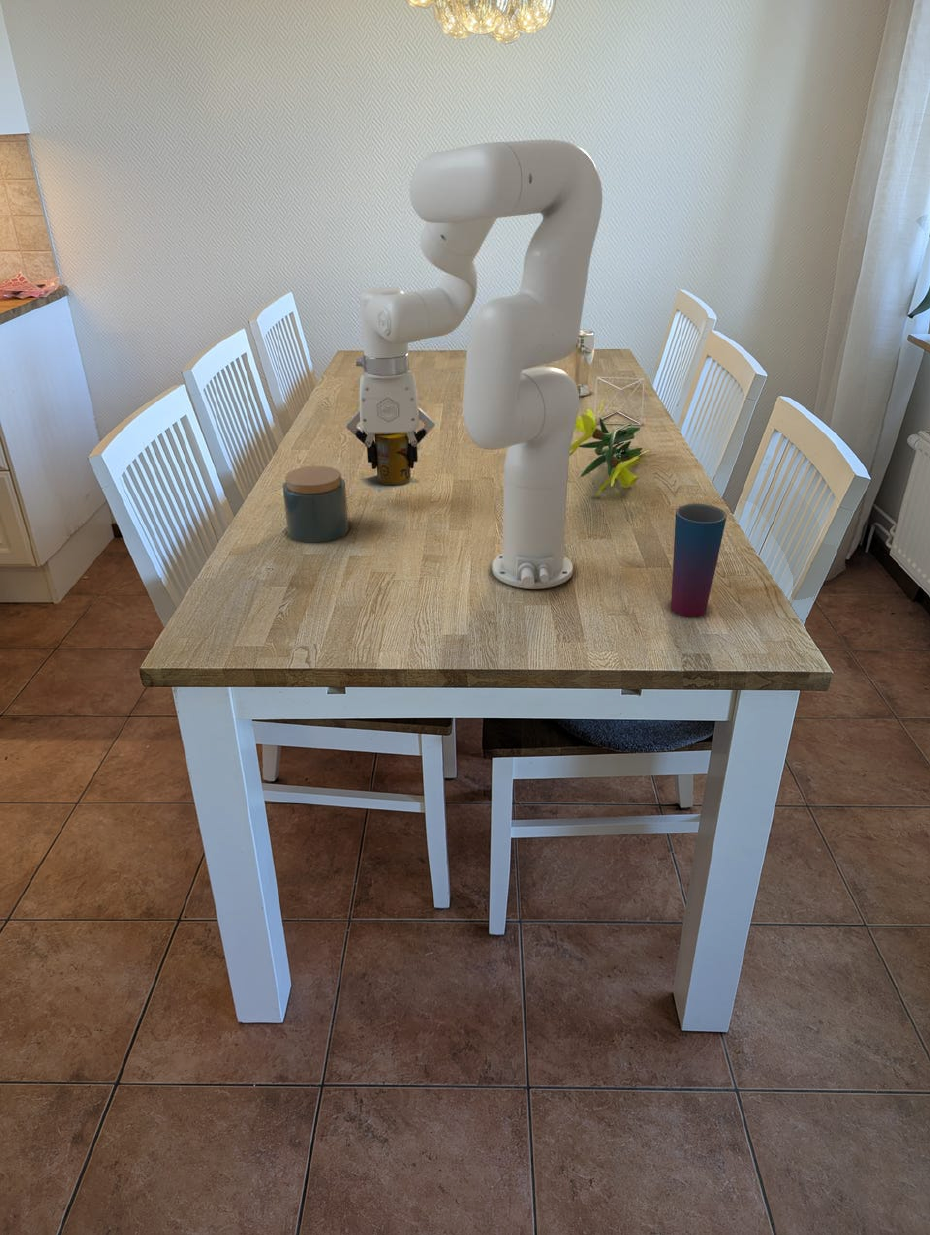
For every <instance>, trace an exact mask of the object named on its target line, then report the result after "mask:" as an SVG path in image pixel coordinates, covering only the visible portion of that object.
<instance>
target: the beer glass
mask: <svg viewBox="0 0 930 1235" xmlns="http://www.w3.org/2000/svg"><path fill="white" fill-rule="evenodd" d="M594 356H595V331H594V330H591V329H584V328H580V331H579V336H578V340H577V344H576V346H575V349H574V350H573V351H572V353H571V354H570V355H569V356H567V357H565V366H566V373H567V374H568V375H569V376H570V377H571V378H572V379H573V381H574V383H575V384H576V387H577V390H578V394H579V397H587V396H589V395H590V392H591V391H590V382H589V381H590V373H591V369H592V365H593V360H594Z"/></svg>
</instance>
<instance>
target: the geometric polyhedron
mask: <svg viewBox="0 0 930 1235" xmlns="http://www.w3.org/2000/svg"><path fill="white" fill-rule="evenodd" d="M604 379H619V380H620V379H623V380H624V379H625V380H637V381H634V382H633V383H630V384H627V385H626V386H623V387H619V386H617V385H615V384H613V383H610V382H609V381H606V380H604ZM645 380H646V379H645V378H644V377H617V376H616V377H615V376H597V377H596V378H595V388H597V387H598V383H599V385H600V386H601V388H602V390H603V392H604V393H605V395H606V397H607V399H608V400H609V402H608V404H607V405H606V406H605V408H604V409H603V410H601V412H600V413H599V416H598V420H597V425H598V424H599V425H600V420H599V418H601V415H602V414H603V413H604V411H606V409H607V408H608V407H609V406H610V404H611V405H612V406H613V408H614V410H615V411H614V412H612V413H610V414H608V415H605V416H604V417H602V418H601V420H602V421H603V420H604V419H606V418H609V417H610V416H612V415H614V414H617V413H618V414H620V415H621V416H624V417H625V418H627V419H629V420H631V421H633V422H635V423H631V424H632V425H631V426H642V425H643V414H644V398H645ZM601 382H604V383H606V384H608V385H609V386H612V387H614V388H616V389H618V391H617V392H616V393H615V395H614V396H613V398H612V399H611V398H610V396H609V394H608V393H607V391H606V389H605V388H604V385H603V384H602V383H601ZM637 383H639V384H638V385H637V386H636V387H635V389H634V390H633V391H632V392H631V393H630V394H629V396H628V397H627V396H626V394H625V392H624V389H626V388H628V387H631V386H633V385H635V384H637ZM642 383H643V384H642ZM641 384H642V385H643V386H642V400H641V401H642V402H641V419H640V418H639V417H638V415H637V413H636V412H635V410H634V408H633V406H632V405H631V403H630V401H629V399H630V398H631V396H632V395H633V394H634V393H635V392H636V391H637V389H638V388H639V387H640V385H641ZM620 392H621V393H622V395H623V396H624V398H625V401H624V402H623V403H622V404H621V406H620V407H619V408H618V409H617V408H616V406H615V405H614V403H613V401H614V400H615V398H616V397H617V395H618V394H619V393H620ZM596 400H597V389H595V392H594V405H593V406H594V407H593V408H594V409H593V410H594V411H593V418H594V420H595V421H596V419H595V417H596V404H597V403H596ZM626 402H627V404H628V405H629V407H630V409H631V410H632V412H633V413H634V416H635V417H636V419H637V420H638V421H637V420H636V419H633V418H632V417H629V416H627V415H625V414H624V413H622V412H621V411H620V410H621V408H622V407H623V406H624V405H625V404H626ZM603 423H604V425H626V424H627V422H625V423H623V422H622V423H621V422H603Z"/></svg>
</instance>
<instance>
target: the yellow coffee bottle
mask: <svg viewBox="0 0 930 1235" xmlns="http://www.w3.org/2000/svg"><path fill="white" fill-rule="evenodd" d="M374 442H375V450H376V464H377V466H376V475H374V476H373V475H372V476H369V477H362V478H359V481H361V482H362V483H363V484H365V485H367V486H368V487H370V488H371V489H374V490H375V491H377V492H383V491H387V490H391V489H396V488H400V487H401V488H402V487H405V486H409V485H413V484H417V483H420V482H421V480H419V479H416V478H414V477H412V474H411V468H409V451H408V447H409V443H410V441H409V439H408V437H407V435H406V433H386V434H375V436H374Z"/></svg>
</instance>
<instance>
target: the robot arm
mask: <svg viewBox="0 0 930 1235" xmlns="http://www.w3.org/2000/svg"><path fill="white" fill-rule="evenodd" d="M408 190H409V191H408V192H409V199H410V203H411V206H412V208H413V211H414V212H415V214H416V215H417V216H418V217H419V218H420V219H421V220H423V221H425V222H426V223H425V225H424V227H423V229H422V230H421V234H420V236H419V247H420V249H421V252H422V253H423V255H424V257H425V259H427V261H428V262H429V263H430V264H432V265H433V267H435V268H436V269H438V270H440V271H441V272H444V275H443V277H442V279H441V281H440V282H439V283H438V285H437V286H436V287H433V288H424V289H420V290H414V291H409V292H408V291H407V292H404V291H403V289H401V288H399V287H395V286H376V287H375V286H374V287H371V288H367V289H365V290H363V291H362V293H361V295H360V297H359V298H360V299H359V301H360V302H359V303H360V318H361V331H362V339H363V340H362V343H363V345H362V346H363V356H362V357H360V358H355V365H356V367H360V368H362V369H363V370H364V371H363V372H362V373H361V374H360V379H359V380H360V381H359V410H358V411H357V412H356V413H355V414H354V415H353V416H352V417H351V418H350V420H348V422H347V424H346V429H347V430H348V431H349V432H350V433H352V434H353V435H354V436H355V437H356V438H357V439H358V440H359V441H360V442H361V443H363V444H364V447H365V448H366V454H367V463H368V464H370V465H371V469H372V470H375V469H377V464H376V450H375V434H386V433H406V435H407V437H408V439H409V447H408V451H409V468H410V469H414V467H415V463H418V460H419V459H418V458H419V457H418V455H419V454H418V445H419V444H420V442H422V440H423V439H424V438H425V437H426V436H427V434H429V433H430V432H431V431H432V429H434V427H435V426H436V422H435V420H434V419H432V418H431V417H430V416H429V415H428V414H427V413H426V412H425V411H424V410H423V409H422V408H421V407H420V403H419V395H418V387H417V382H416V378H415V374H414V370H412V369H410V353H409V343H415V342H419V341H423V340H428V339H432V338H438V337H444V336H448V335H449V334H452V333H453V332H454V331H455V330H457V329H458V328H459V326H460V325H461V324H462V322H463V321H464V320H465V318H466V316H467V315H468V313H469V312H470V310H471V308H472V306H473V305H474V303H475V300H476V296H477V291H478V273H477V269H476V265H475V262H474V261H475V259H476V257H477V255H478V253H479V251H480V250H481V248H482V246H483V244H484V242H485V241H486V238H487V237H488V236H489V234H490V231H491V230H492V228H493V226H494V224H495V223H496V221H497V219H500V218H509V217H510V218H511V217H519V216H527V215H536V214H540V215H541V217H542V220H541V222H540V224H539V225H538V226H537V228H536V229H535V231H534V233H533V235H532V237H531V239H530V241H529V243H528V245H527V249H526V252H525V255H524V261H523V272H522V278H521V284H520V287H519V290H518V292H516V294H511V295H507V296H501V297H496V298H494V299H491V300H489V301H487V302H485V303H484V304H483V305H482V306H481V307H479V309H478V310H477V311H476V313H475V315H474V316H473V318H472V320H471V323H470V326H469V329H468V334H467V343H466V354H465V369H464V378H463V379H464V382H463V393H462V418H463V424H464V428H465V430H466V433H467V435H468V437H469V439H470V440H471V441H472V442H473V443H474V444H475V445H476V446H477V447H479V448H481V449H483V450H489V451H496V450H501V449H505V448H507V450H506V454H505V458H504V464H503V492H502V493H503V495H502V496H503V499H502V501H503V502H502V503H503V504H502V553H500V554H499V555H497V556H496V557H495V558H494V559H493V561H492V563H491V564H492V566H491V569H492V570H491V571H492V574H493V576H494V577H495V578H496V579H498V580H499V581H500V582H502V583H503V584H505V585H508V586H511V587H515V588H521V589H527V590H528V589H530V590H543V589H549V588H554V587H557V586H560V585H562V584H564V583H566V582H568V580H569V579H571V578H572V576H573V573H574V564H573V562H572V560H570V558H568V557H567V556H566V555H564V553H565V537H566V535H565V534H566V518H567V516H566V515H567V499H568V498H567V496H568V480H569V468H570V466H569V465H570V457H571V455H570V453H571V451H570V447H571V445H572V439H573V436H574V433H575V432H574V431H575V429H574V428H575V425H576V421H577V416H579V409H580V396H579V394H578V390H577V387H576V384H575V383H574V381H573V379H572V378H571V377H570V376H569V375H568V374H567V371H564V370H562V369H560V368H558V367H554V366H544V365H548V364H551V363H555V362H558V361H561V360H563V359H566V357H567V356H569V355H570V354H571V353H572V351H573V350H574V349H575V346H576V344H577V340H578V336H579V331H580V329H581V325H582V317H583V312H584V311H583V310H584V306H585V304H584V303H585V297H586V292H587V284H588V277H589V269H590V268H589V267H590V261H591V257H592V253H593V247H594V243H595V239H596V236H597V232H598V229H599V224H600V220H601V214H602V208H603V188H602V181H601V177H600V174H599V170H598V168H597V166H596V164H595V163H594V161H593V159H592V158H591V156H590V155H589V154H588V153H587V152H586V150H584V149H583V148H581V147H579V146H578V145H576V144H574V143H572V142H569V141H565V140H559V139H528V140H513V141H495V142H493V141H492V142H484V143H483V142H482V143H477V144H472V145H467V146H461V147H458V148H457V147H456V148H452V149H448V150H442V151H436V152H431V153H429V154H426V155H425V156H424V157H422V159H420V161H419V162H418V163H417V164H416V166H415V168H414V169H413V172H412V174H411V177H410V182H409V189H408ZM420 421H421V422H422V423H423V424H424V425H423V426H422V427H421V428H420V429H419V430H418V428H419V426H420ZM359 423H360V427H359V426H358V424H359ZM417 430H418V431H417ZM416 431H417V432H416Z"/></svg>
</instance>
